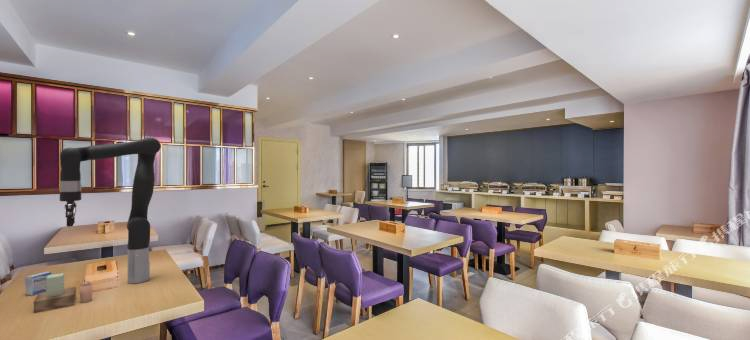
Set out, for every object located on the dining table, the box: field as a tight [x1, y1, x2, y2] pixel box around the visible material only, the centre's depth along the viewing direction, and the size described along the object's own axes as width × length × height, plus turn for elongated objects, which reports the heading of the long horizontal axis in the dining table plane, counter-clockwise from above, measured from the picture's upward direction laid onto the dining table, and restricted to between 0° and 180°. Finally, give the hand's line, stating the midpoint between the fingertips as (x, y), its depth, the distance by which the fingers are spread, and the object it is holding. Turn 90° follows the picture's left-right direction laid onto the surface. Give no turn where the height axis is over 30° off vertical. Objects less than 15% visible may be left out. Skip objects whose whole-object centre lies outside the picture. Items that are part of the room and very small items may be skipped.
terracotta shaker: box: [79, 280, 93, 304], centre depth 147 cm, size 4×4×9 cm
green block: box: [45, 272, 65, 297], centre depth 143 cm, size 5×5×8 cm
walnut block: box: [33, 286, 77, 314], centre depth 143 cm, size 12×12×5 cm
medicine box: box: [24, 271, 52, 296], centre depth 157 cm, size 8×4×9 cm, turn 168°
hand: (70, 225), depth 155 cm, fingers open, 8 cm apart
